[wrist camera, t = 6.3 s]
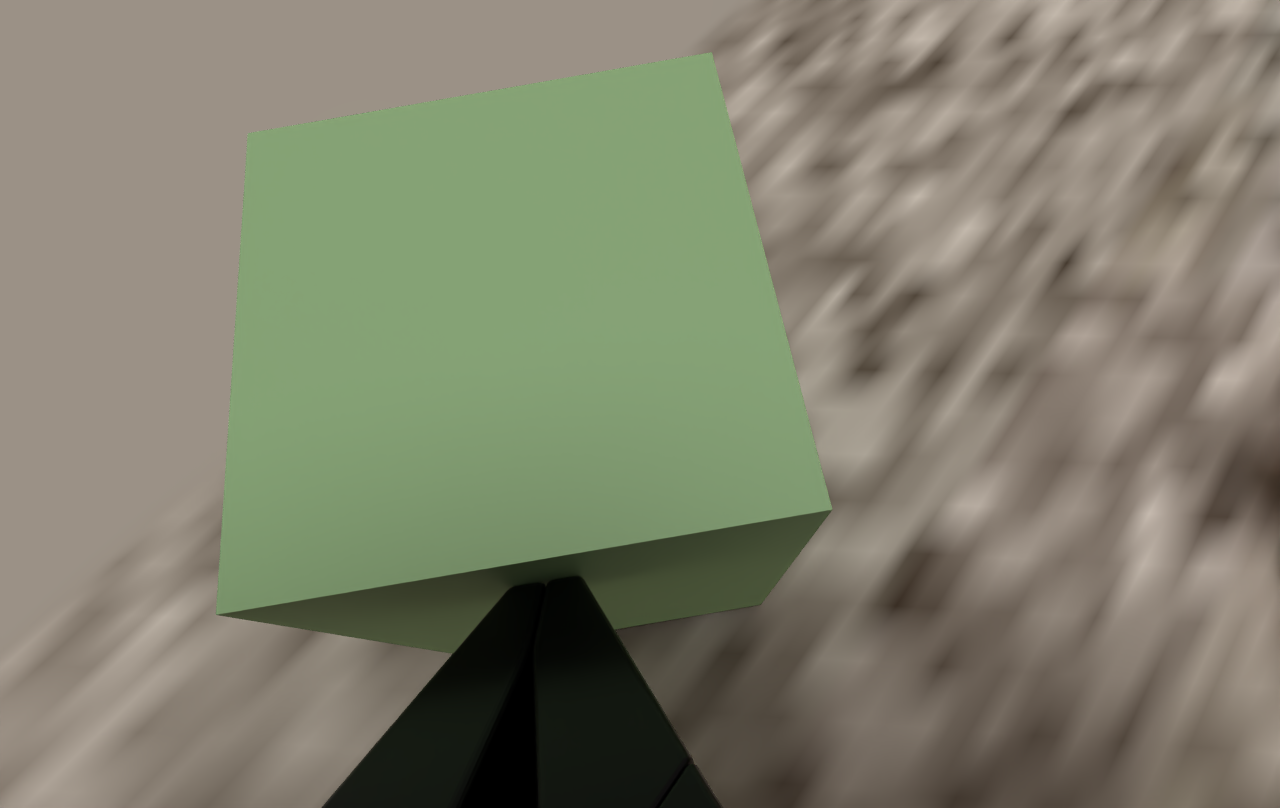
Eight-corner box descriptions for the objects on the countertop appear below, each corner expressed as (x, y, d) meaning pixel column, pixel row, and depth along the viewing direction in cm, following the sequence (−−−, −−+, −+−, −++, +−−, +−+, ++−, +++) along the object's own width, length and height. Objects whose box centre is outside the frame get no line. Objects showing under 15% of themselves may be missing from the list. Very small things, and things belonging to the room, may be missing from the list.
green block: (760, 604, 14) (832, 509, 7) (463, 655, 14) (215, 615, 7) (703, 338, 17) (711, 51, 9) (446, 383, 17) (247, 133, 9)
